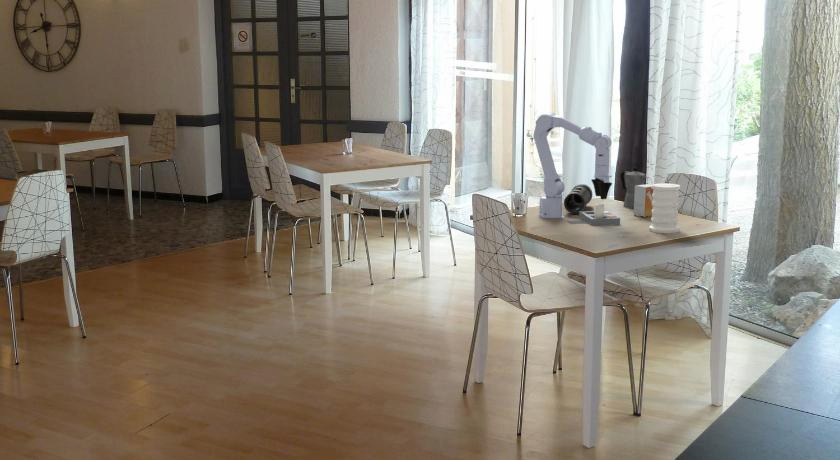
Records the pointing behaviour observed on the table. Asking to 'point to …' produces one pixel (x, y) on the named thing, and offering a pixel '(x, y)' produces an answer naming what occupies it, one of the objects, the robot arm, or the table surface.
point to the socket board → (607, 220)
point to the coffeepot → (631, 185)
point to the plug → (598, 211)
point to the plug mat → (577, 222)
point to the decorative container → (665, 208)
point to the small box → (643, 200)
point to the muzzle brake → (578, 198)
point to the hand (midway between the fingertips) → (600, 197)
